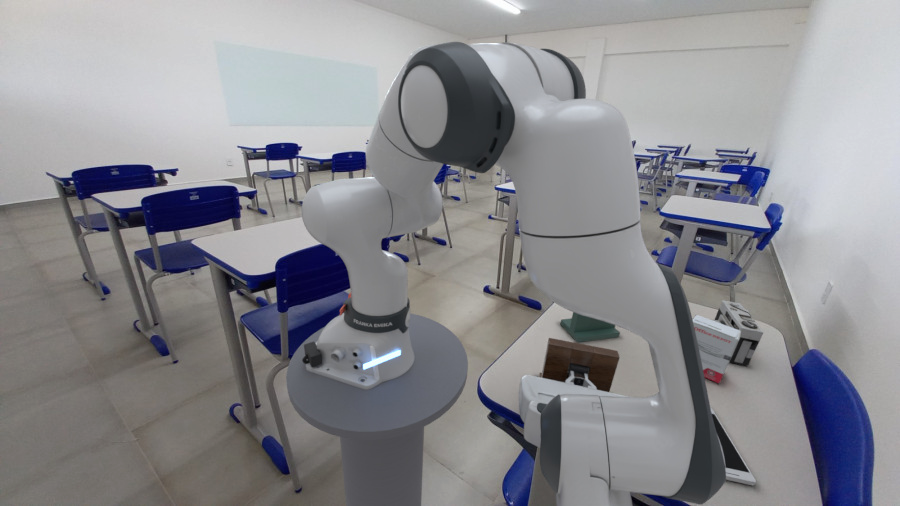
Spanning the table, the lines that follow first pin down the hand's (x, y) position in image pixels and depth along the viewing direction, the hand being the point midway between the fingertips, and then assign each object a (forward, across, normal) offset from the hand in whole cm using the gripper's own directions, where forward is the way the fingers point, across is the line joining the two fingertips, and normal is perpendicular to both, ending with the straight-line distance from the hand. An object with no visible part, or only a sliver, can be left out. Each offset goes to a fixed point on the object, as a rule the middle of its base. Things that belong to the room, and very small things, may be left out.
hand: (577, 374), depth 64 cm
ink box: (+21, -29, +8) cm, 37 cm away
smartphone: (0, -23, +8) cm, 25 cm away
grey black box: (+33, -38, +8) cm, 51 cm away
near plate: (+3, 0, +8) cm, 8 cm away
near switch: (+1, 0, +1) cm, 2 cm away
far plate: (+29, -6, +8) cm, 30 cm away
